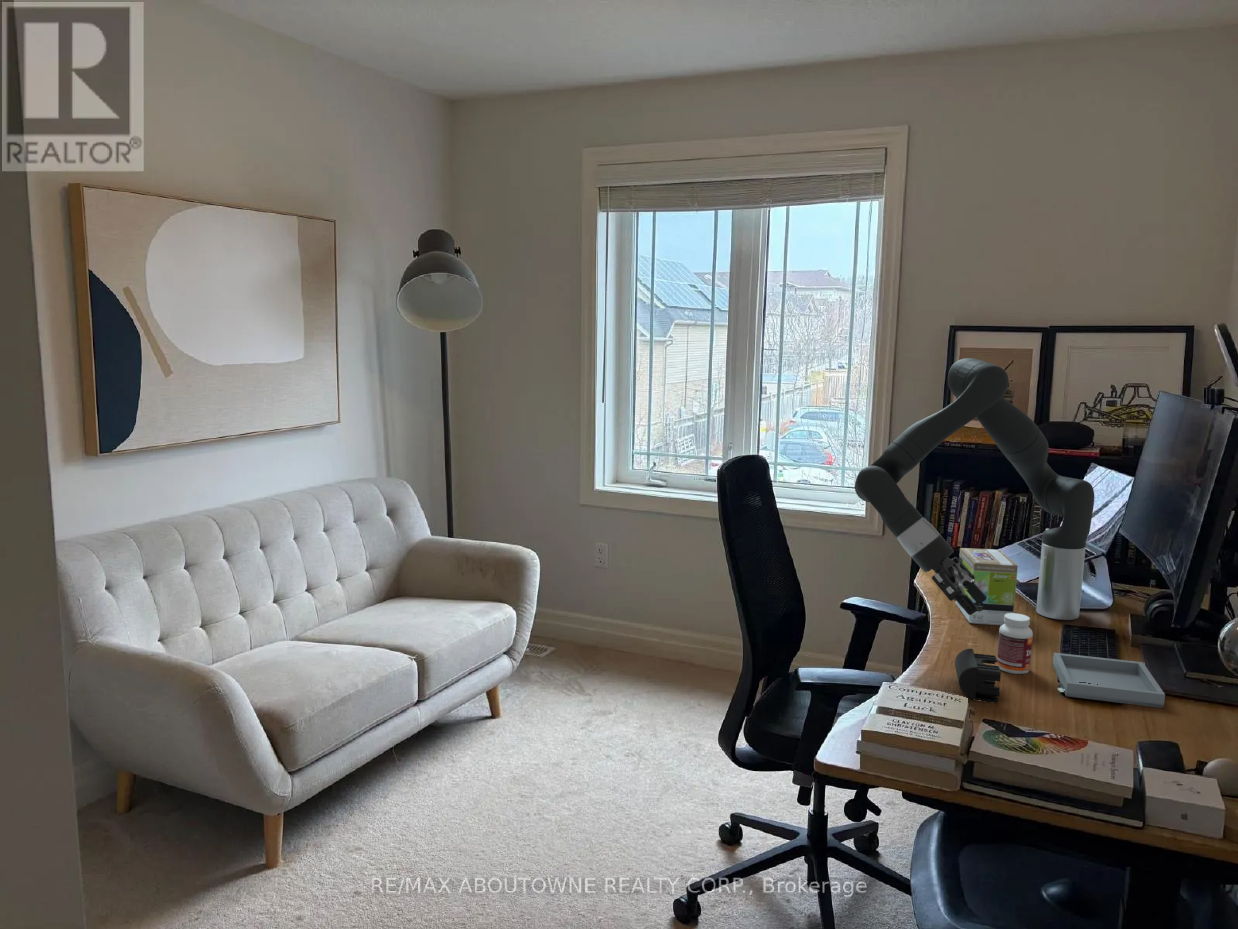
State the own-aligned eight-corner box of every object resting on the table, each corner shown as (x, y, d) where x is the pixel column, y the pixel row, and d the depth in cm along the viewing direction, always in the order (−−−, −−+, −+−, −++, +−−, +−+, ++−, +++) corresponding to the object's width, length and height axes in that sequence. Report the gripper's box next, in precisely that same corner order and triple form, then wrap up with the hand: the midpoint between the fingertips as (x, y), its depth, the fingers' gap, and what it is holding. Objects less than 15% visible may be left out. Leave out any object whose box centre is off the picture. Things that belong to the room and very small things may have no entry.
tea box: (1014, 626, 200) (1019, 564, 198) (968, 624, 202) (972, 562, 200) (996, 606, 215) (1001, 548, 213) (954, 604, 217) (958, 546, 214)
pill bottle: (1031, 677, 172) (1036, 623, 170) (998, 673, 174) (1002, 620, 172) (1027, 665, 178) (1031, 613, 176) (994, 661, 179) (998, 610, 178)
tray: (1052, 664, 178) (1053, 652, 177) (1141, 674, 173) (1142, 662, 173) (1066, 696, 163) (1067, 683, 162) (1163, 708, 158) (1165, 694, 158)
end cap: (953, 679, 171) (955, 646, 170) (992, 683, 169) (995, 650, 168) (957, 700, 161) (959, 665, 160) (998, 705, 159) (1001, 670, 158)
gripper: (929, 541, 174) (986, 606, 170) (946, 527, 186) (1000, 587, 182) (901, 562, 178) (956, 626, 174) (919, 547, 190) (971, 607, 185)
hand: (978, 606), depth 178 cm, fingers open, 8 cm apart
